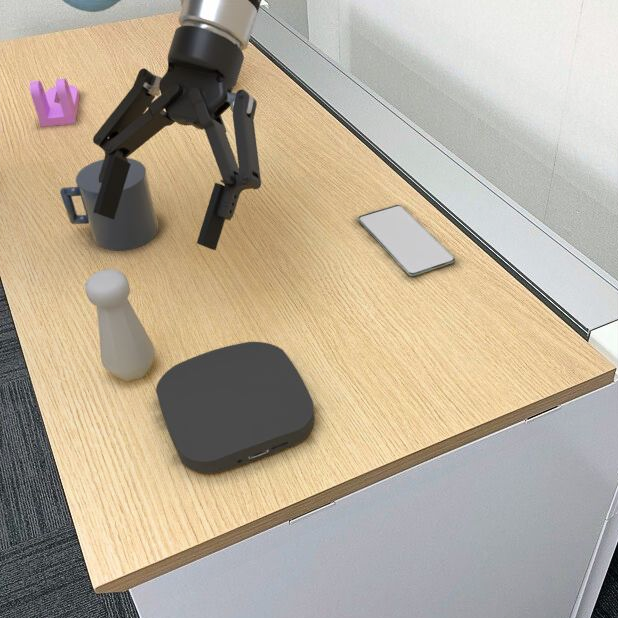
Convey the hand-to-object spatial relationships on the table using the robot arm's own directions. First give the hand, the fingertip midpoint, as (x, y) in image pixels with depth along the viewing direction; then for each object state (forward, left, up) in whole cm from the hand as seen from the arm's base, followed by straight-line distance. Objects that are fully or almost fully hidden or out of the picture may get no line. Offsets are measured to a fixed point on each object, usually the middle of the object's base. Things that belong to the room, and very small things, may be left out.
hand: (153, 231), depth 79 cm
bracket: (-45, +47, -14) cm, 67 cm away
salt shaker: (-2, -8, -14) cm, 16 cm away
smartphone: (+22, +24, -14) cm, 36 cm away
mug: (-17, +16, -14) cm, 27 cm away
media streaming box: (+12, -11, -14) cm, 21 cm away
